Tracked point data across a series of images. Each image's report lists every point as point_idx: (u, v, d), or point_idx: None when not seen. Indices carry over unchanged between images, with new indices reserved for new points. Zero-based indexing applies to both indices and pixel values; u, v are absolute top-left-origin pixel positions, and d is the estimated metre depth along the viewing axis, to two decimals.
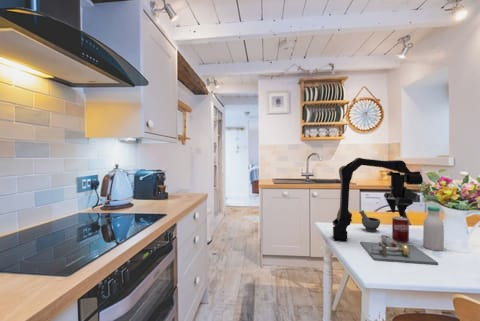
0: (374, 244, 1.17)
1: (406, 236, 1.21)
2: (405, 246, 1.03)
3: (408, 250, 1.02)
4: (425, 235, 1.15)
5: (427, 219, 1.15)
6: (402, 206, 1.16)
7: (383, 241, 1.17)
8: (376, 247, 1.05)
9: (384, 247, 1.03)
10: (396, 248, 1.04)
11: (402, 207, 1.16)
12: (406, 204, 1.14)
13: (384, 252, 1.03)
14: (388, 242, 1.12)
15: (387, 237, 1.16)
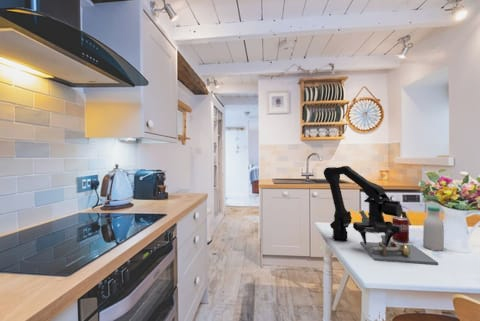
0: (374, 244, 1.17)
1: (406, 236, 1.21)
2: (405, 246, 1.03)
3: (408, 250, 1.02)
4: (425, 235, 1.15)
5: (427, 219, 1.15)
6: None
7: (383, 241, 1.17)
8: (376, 247, 1.05)
9: (384, 247, 1.03)
10: (396, 248, 1.04)
11: None
12: (358, 230, 1.13)
13: (384, 252, 1.03)
14: None
15: None
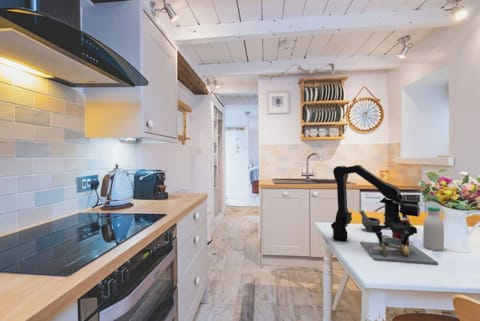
0: (374, 244, 1.17)
1: None
2: (405, 246, 1.03)
3: (408, 250, 1.02)
4: (425, 235, 1.15)
5: (427, 219, 1.15)
6: (378, 234, 1.12)
7: (386, 242, 1.16)
8: (376, 247, 1.05)
9: (384, 247, 1.03)
10: (396, 248, 1.04)
11: (378, 235, 1.12)
12: None
13: (384, 252, 1.03)
14: (397, 241, 1.13)
15: (388, 236, 1.16)
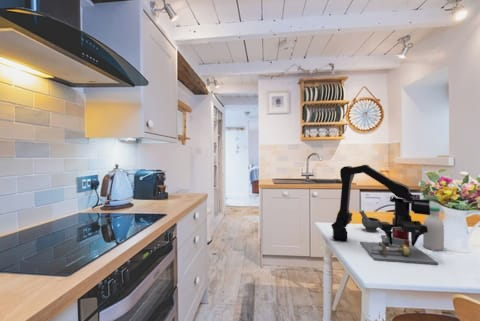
0: (374, 244, 1.17)
1: (406, 236, 1.21)
2: (405, 246, 1.03)
3: (408, 250, 1.02)
4: (425, 235, 1.15)
5: (427, 219, 1.15)
6: None
7: (387, 242, 1.16)
8: (376, 247, 1.05)
9: (384, 247, 1.03)
10: (396, 248, 1.04)
11: (388, 234, 1.11)
12: None
13: (384, 252, 1.03)
14: (398, 241, 1.13)
15: None
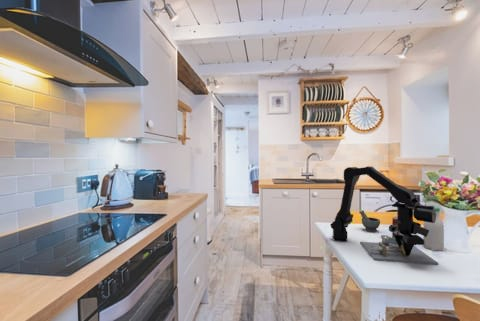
0: (374, 244, 1.17)
1: None
2: None
3: None
4: None
5: None
6: (408, 244, 1.00)
7: (387, 242, 1.16)
8: (376, 247, 1.05)
9: (384, 247, 1.03)
10: (396, 248, 1.04)
11: (408, 245, 1.00)
12: None
13: (384, 252, 1.03)
14: None
15: (388, 236, 1.17)
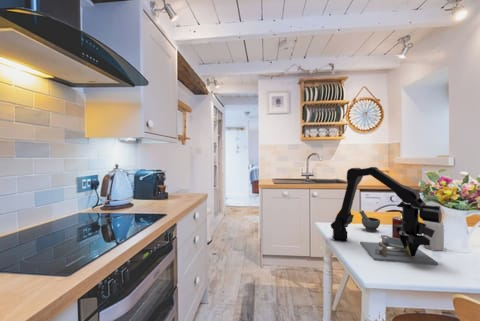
0: (374, 244, 1.17)
1: None
2: None
3: None
4: (425, 235, 1.15)
5: None
6: (414, 244, 1.00)
7: (387, 242, 1.16)
8: (381, 247, 1.05)
9: (384, 247, 1.03)
10: (401, 248, 1.04)
11: (414, 245, 1.00)
12: None
13: (384, 252, 1.03)
14: (398, 241, 1.13)
15: (388, 236, 1.17)
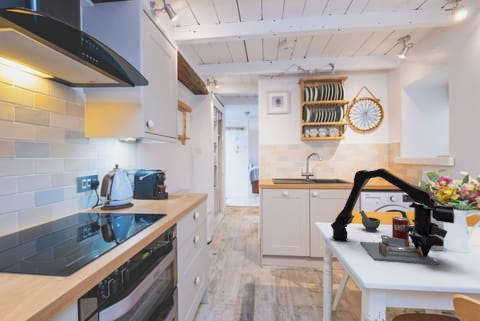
0: (374, 244, 1.17)
1: (406, 236, 1.21)
2: None
3: None
4: None
5: None
6: (426, 245, 0.99)
7: (387, 242, 1.16)
8: (393, 248, 1.04)
9: (384, 247, 1.03)
10: (413, 249, 1.03)
11: (426, 246, 0.99)
12: None
13: (384, 252, 1.03)
14: (398, 241, 1.13)
15: (388, 236, 1.17)
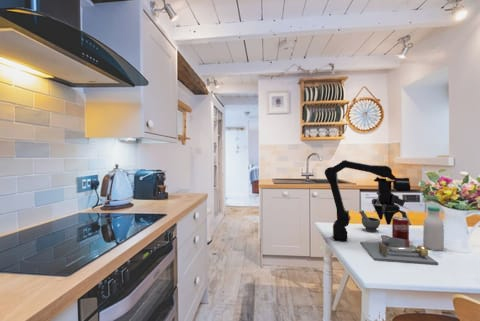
0: (374, 244, 1.17)
1: (406, 236, 1.21)
2: (422, 247, 1.02)
3: (426, 251, 1.00)
4: (425, 235, 1.15)
5: (427, 219, 1.15)
6: (389, 213, 1.12)
7: (387, 242, 1.16)
8: (393, 248, 1.04)
9: (384, 247, 1.03)
10: (413, 249, 1.03)
11: (389, 215, 1.12)
12: (393, 212, 1.10)
13: (384, 252, 1.03)
14: (398, 241, 1.13)
15: (388, 236, 1.17)
